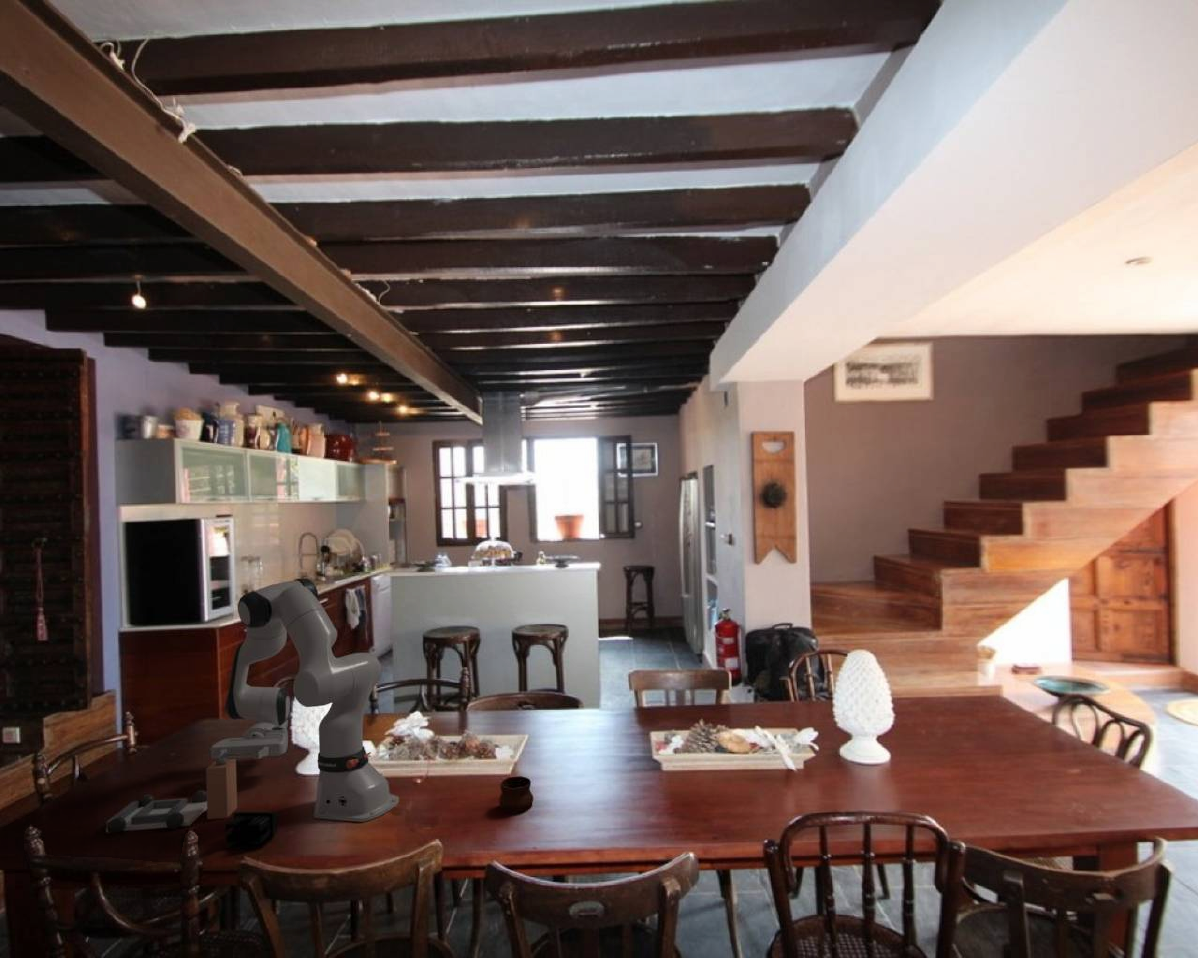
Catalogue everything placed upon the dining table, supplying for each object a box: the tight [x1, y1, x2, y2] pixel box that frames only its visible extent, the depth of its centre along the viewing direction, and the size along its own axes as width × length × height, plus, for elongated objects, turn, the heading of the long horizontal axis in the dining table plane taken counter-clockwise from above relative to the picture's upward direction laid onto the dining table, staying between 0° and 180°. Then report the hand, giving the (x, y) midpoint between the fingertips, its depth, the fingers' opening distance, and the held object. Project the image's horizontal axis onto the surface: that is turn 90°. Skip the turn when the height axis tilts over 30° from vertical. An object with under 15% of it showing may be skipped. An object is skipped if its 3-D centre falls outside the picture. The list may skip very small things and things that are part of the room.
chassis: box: [105, 789, 207, 835], centre depth 183 cm, size 20×15×4 cm
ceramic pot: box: [495, 775, 534, 815], centre depth 181 cm, size 18×18×7 cm
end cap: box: [224, 811, 280, 850], centre depth 168 cm, size 10×7×7 cm
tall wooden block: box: [205, 758, 238, 820], centre depth 185 cm, size 6×5×14 cm
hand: (239, 757), depth 197 cm, fingers open, 8 cm apart
